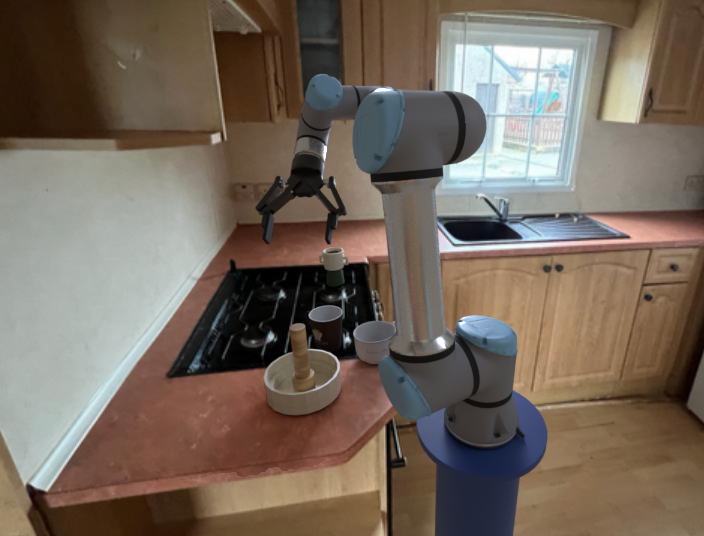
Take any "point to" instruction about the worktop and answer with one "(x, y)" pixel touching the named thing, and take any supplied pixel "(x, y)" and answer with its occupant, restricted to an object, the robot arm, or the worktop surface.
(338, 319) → the coffee mug
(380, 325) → the teacup
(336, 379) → the mixing bowl
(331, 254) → the character mug
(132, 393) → the worktop surface
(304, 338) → the wooden masher
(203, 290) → the worktop surface
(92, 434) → the worktop surface
